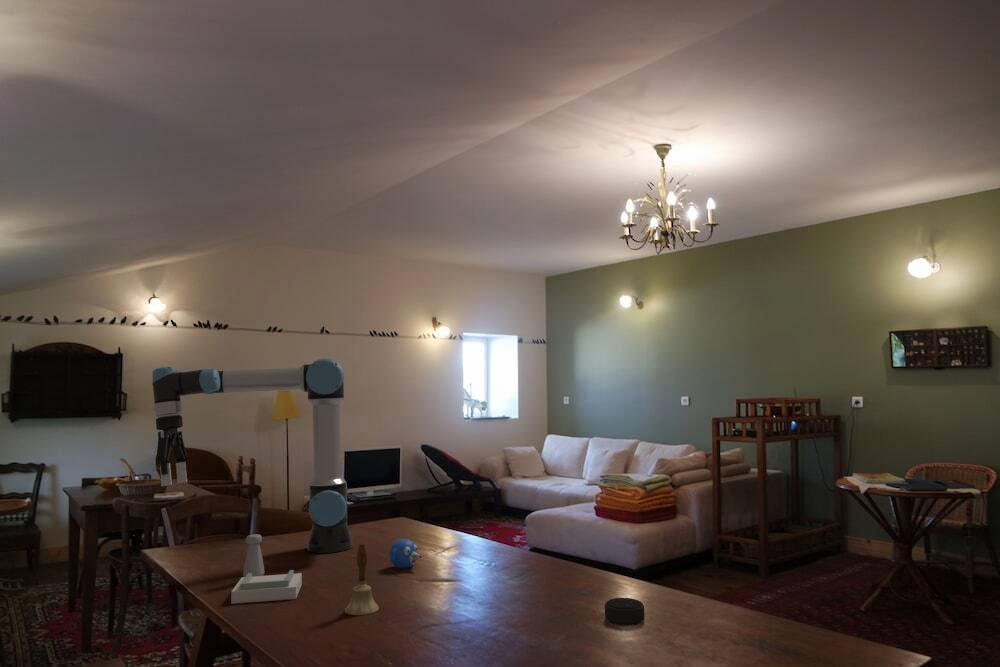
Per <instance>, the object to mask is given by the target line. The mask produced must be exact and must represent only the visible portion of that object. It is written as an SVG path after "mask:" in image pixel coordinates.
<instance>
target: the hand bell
mask: <svg viewBox="0 0 1000 667" xmlns="http://www.w3.org/2000/svg"><path fill="white" fill-rule="evenodd" d="M356 563H357V567H358V582H357V583H358V584H357V585H356V586H353V588H352V594H351V599H350V601H349V603H348V604H347V606H346V607H345V608H344V613H345V614H347V615H350V616H368V615H371V614H375V613H377V612H379V610H380V606H379V605H378V604H377V603H376V602H375V600H374V597H373V592H372V587H371V585H368V584H367V583H366V580H367V579H366V568H367V563H368V551H367V548H366V544H365V543H364V542H361V543H359V545H358V549H357V552H356Z"/></svg>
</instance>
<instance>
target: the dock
mask: <svg viewBox="0 0 1000 667" xmlns="http://www.w3.org/2000/svg"><path fill="white" fill-rule="evenodd" d="M294 570H295V569H290V570H289V571H288V573H287V574H285V573H283V574H272V575H269V574H268V575H263V576H254V577H252V573H248V574H247V575H246V577H244V576H243V577H241V578H240V579H239V581H238V582H237V583H236V585H235V586H234V587H233V589H232V590H231V592H230V594H231V595H230V596H231V597H230V598H231V599H230V600H231V602H230V603H231V604H245V603H247V604H248V603H258V602H259V603H260V602H270V601H284V600H285V601H286V600H295V599H297V597H298V595H299V592H300V590H301V587H302V582H303V579H302V577H303V574H302V572H299V573H294V572H295V571H294Z"/></svg>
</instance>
